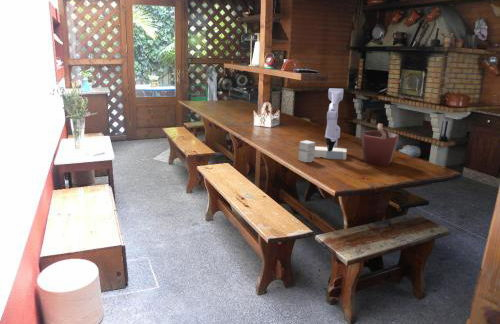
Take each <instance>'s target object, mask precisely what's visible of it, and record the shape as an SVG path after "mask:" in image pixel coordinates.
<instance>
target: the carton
mask: <svg viewBox="0 0 500 324" xmlns="http://www.w3.org/2000/svg"><path fill="white" fill-rule="evenodd" d="M347 150H348V149H347V148H342V147H337V148H333V150H332V151H343V158H342V159H341V160H347V154H348V153H347ZM327 151H328V149H327V146H316V145H315V155H314V158H320V157H323V158H322V159H326V153H327Z"/></svg>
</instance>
